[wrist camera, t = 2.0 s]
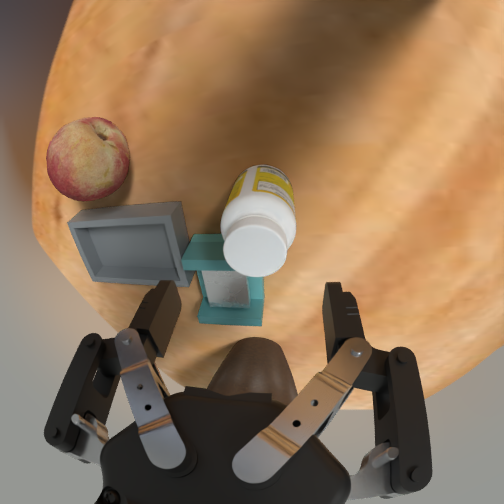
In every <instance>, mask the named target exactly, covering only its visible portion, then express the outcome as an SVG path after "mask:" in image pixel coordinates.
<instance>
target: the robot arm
mask: <svg viewBox="0 0 504 504" xmlns="http://www.w3.org/2000/svg"><path fill="white" fill-rule="evenodd" d="M180 311H181V299H180V296H179V293H178V290H177V287H176V284H175V281H173V280H160V281H159V282H158V284H157V286H156V288H155V289H151V290H150V291H149V292H148V293H147V294H146V295H145V297H144V298H143V300H142V303H141V304H140V306H139V309H138V310H137V312H136V314H135V316H134V318H133V320H132V322H131V324H130V326H129V328H127V329H124V330H122V331H120V332H119V333H118V334H117V336H116V337H115V338H109V339H102V338H101V336H100V335H99V334H96V333H91V334H88V335H87V336H85V337H84V338H83V339H82V341H81V343H80V345H79V347H78V349H77V351H76V353H75V355H74V357H73V360H72V362H71V364H70V366H69V368H68V370H67V373H66V375H65V377H64V380H63V382H62V384H61V387H60V389H59V392H58V394H57V396H56V399H55V401H54V405H53V407H52V409H51V412H50V415H49V417H48V420H47V423H46V426H45V429H44V437H45V439H46V441H47V442H48V443H49V444H50V445H52V446H54V447H55V448H57V449H59V450H60V451H61V452H63V453H65V454H66V455H68V456H70V457H72V458H74V459H78V460H80V461H82V462H84V463H94V464H96V465H99V466H101V469H102V475H103V490H102V492H101V494H100V496H99V498H98V499H97V501H96V502H95V503H94V504H345V502H346V501H347V500H355V499H363V498H371V497H378V496H379V497H381V498H385V499H388V498H393V497H397V496H401V495H405V494H409V493H412V492H416V491H419V490H421V489H423V488H424V487H425V486H426V485H427V484H428V483H429V482H430V480H431V477H432V459H431V446H430V436H429V429H428V420H427V414H426V407H425V401H424V395H423V390H422V385H421V380H420V375H419V370H418V366H417V361H416V357H415V355H414V353H413V352H412V351H411V350H410V349H408V348H406V347H396V348H394V349H392V350H391V352H387V351H382V350H378V349H375V348H373V347H372V346H371V345H370V344H369V342H367V341H366V339H365V336H364V331H363V327H362V323H361V318H360V315H359V310H358V306H357V302H356V299H355V297H354V296H353V295H352V294H351V293H350V292H343V291H342V287H341V283H340V282H326V284H325V291H324V298H323V306H322V313H323V323H324V332H325V341H326V352H327V363H328V365H327V366H326V367H325V368H324V370H323V371H322V372H318V373H317V374H316V375H315V376H314V377H313V378H312V379H311V380H310V382H309V383H308V384H307V385H306V386H305V387H304V389H303V390H302V391H301V392H300V393H299V394H298V395H297V396H296V398H295V399H294V400H293V401H292V402H291V403H290V404H289V405H287V404H285V403H283V402H281V401H278V400H275V399H272V393H252V392H249V393H243V394H236V395H230V396H226V395H222V394H219V393H216V392H214V391H211V390H208V389H204V388H196V387H189V386H185V391H184V392H179V393H176V394H173V395H170V393H169V392H168V390H167V388H166V386H165V384H164V381H163V379H162V377H161V375H160V372H159V370H158V368H157V365H156V363H155V359H156V357H163V358H164V355H165V352H166V349H167V346H168V344H169V341H170V338H171V335H172V333H173V330H174V327H175V325H176V322H177V319H178V317H179V314H180ZM96 371H97V372H96ZM95 373H96V375H95ZM94 376H95V377H94ZM120 377H121V379H122V383H123V386H124V389H125V392H126V395H127V398H128V401H129V404H130V407H131V410H132V413H133V415H134V418H135V421H134V422H133V423H132V424H130V425H129V426H128V427H126V428H125V429H123V430H122V431H121V432H119V433H118V434H117V435H115V436H114V437H112V438H111V439H109V437H108V430H107V428H106V426H105V424H106V421H107V417H108V414H109V411H110V408H111V404H112V401H113V398H114V395H115V392H116V389H117V386H118V383H119V380H120ZM93 378H94V380H93ZM354 388H358V389H363V390H368V391H372V395H373V407H374V423H375V448H373V449H372V450H371V451H370V452H368V453H367V454H366V455H365V456H364V458H363V460H362V463H361V467H360V470H359V471H358V473H357V474H355V475H352V476H350V475H349V473H348V471H347V470H346V469H345V467H344V466H343V465H342V464H341V463H340V462H339V461H338V460H337V459H336V458H335V457H334V456H333V455H332V453H331V452H329V450H328V449H327V448H326V447H325V445H324V444H323V443H322V442H321V441H320V440H319V439H318V437H319V436H320V435H321V433H322V432H323V431H324V430H325V429H326V427H327V426H328V425H329V423H330V422H331V420H332V419H333V418H334V416H335V415H336V413H337V412H338V411H339V409H340V408H341V407H342V405H343V404H344V402H345V401H346V400H347V398H348V397H349V395H350V394H351V392H352V391H353V390H354Z"/></svg>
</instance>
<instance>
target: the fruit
mask: <svg viewBox="0 0 504 504" xmlns="http://www.w3.org/2000/svg"><path fill="white" fill-rule="evenodd" d="M46 159H47V171H48V175H49V178H50V180H51V182H52V183H53V185H54V186H55V188H56V189H57V190H58V191H59V192H60V193H62V194H63V195H65V196H67V197H68V198H71V199H73V200H77V201H93V200H98V199H100V198H103V197H106V196H107V195H109V194H112V193H113V192H114V191H116V190H117V189H118V188H119V187H120V186H121V185H122V183H123V182H124V180H125V178H126V175H127V173H128V168H129V161H130V155H129V148H128V144H127V140H126V138H125V136H124V134H123V133H122V131H121V130H120V129H119V128H118V127H117V126H116V125H115V124H113V123H112V122H111V121H108V120H106V119H103V118H99V117H92V118H82V119H79V120H76V121H73V122H70V123H68V124H66V125H64V126H63V127H62V128H61V129H60V130H59V131H58V132H57V133H56V134H55V135H54V137H53V139H52V141H50V144H49V147H48V150H47V156H46Z"/></svg>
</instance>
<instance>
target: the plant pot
mask: <svg viewBox="0 0 504 504" xmlns="http://www.w3.org/2000/svg"><path fill="white" fill-rule="evenodd" d="M207 389H208V390H211V391H214V392H216V393H219V394H222V395H226V396H230V395H236V394H243V393H249V392H252V393H272V399H275V400H278V401H281V402H283V403H285V404H287V405H289V404H290V403H291V402H292V401H293V400H294V399H295V398H296V396H297V395H298V394H297V390H296V386H295V383H294V380H293V376H292V374H291V371H290V368H289V365H288V363H287V360H286V358H285V355H284V353H283V351H282V349H281V347H280V346H279V345H278V344H277V343H275V342H273V341H271V340H268V339H265V338H257V337H253V338H246V339H243V340H240V341H239V342H237V343H236V344H235V346H234V347H233V348H232V350H231V351H230V352H229V354H228V355H227V357H226V358H225V360H224V361H223V363H222V364H221V366H220V367H219V369H218V370H217V372H216V374H215V375H214V377H213V379H212V381H211V382H210V384H209V386H208V388H207Z"/></svg>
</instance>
